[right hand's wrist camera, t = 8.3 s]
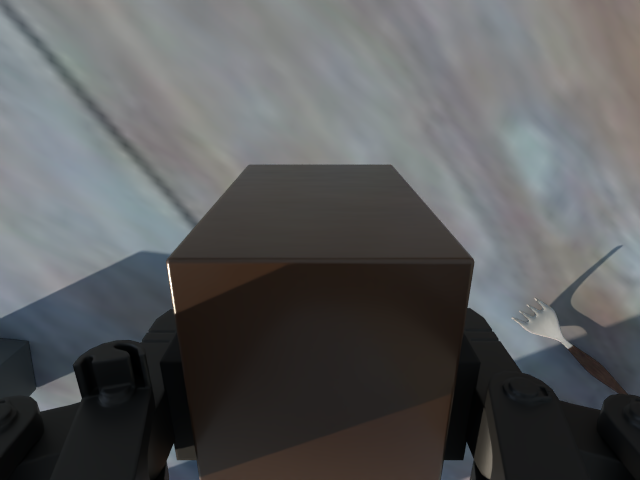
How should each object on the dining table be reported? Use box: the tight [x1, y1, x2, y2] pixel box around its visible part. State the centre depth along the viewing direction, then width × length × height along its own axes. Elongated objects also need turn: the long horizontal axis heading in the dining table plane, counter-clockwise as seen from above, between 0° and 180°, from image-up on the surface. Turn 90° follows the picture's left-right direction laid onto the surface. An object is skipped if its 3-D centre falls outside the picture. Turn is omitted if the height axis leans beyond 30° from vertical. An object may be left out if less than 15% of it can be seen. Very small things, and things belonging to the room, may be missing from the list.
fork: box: [512, 298, 627, 394], centre depth 32 cm, size 3×16×2 cm, turn 50°
